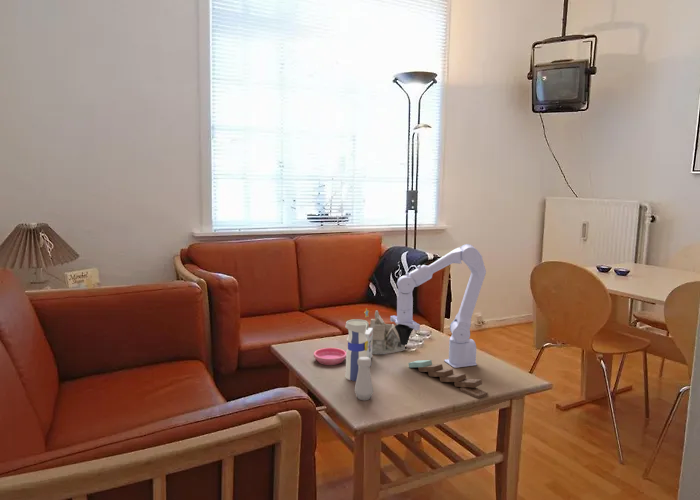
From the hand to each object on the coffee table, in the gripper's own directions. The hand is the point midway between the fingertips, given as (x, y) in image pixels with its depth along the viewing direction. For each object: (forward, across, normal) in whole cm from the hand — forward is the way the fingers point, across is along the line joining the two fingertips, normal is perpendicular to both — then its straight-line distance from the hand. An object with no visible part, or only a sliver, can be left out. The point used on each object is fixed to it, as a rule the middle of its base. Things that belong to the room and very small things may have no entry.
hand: (404, 344), depth 197 cm
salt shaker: (+7, +18, -31) cm, 36 cm away
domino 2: (+6, +10, 0) cm, 12 cm away
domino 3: (+6, +15, 0) cm, 16 cm away
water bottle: (+7, +2, -23) cm, 24 cm away
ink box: (+7, -9, -12) cm, 16 cm away
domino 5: (+6, +27, +1) cm, 27 cm away
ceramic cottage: (+7, -16, +4) cm, 18 cm away
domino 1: (+6, +5, 0) cm, 8 cm away
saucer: (+7, -16, -22) cm, 28 cm away
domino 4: (+6, +21, 0) cm, 22 cm away
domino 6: (+7, +30, 0) cm, 31 cm away
